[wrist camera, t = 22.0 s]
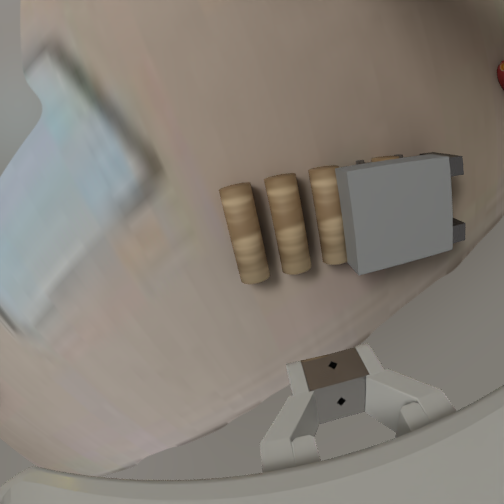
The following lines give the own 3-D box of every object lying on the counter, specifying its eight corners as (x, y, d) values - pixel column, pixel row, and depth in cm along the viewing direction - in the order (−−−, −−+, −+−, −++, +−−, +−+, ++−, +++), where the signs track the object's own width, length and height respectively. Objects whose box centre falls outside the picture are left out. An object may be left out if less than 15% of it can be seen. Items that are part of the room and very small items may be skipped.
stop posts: (419, 153, 38) (448, 157, 32) (433, 152, 38) (462, 156, 32) (425, 229, 42) (452, 243, 36) (438, 226, 42) (465, 239, 36)
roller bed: (219, 187, 39) (218, 192, 35) (399, 154, 38) (413, 156, 35) (240, 274, 43) (241, 286, 39) (406, 235, 42) (419, 243, 39)
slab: (334, 168, 35) (346, 171, 31) (431, 154, 35) (448, 156, 31) (347, 262, 39) (358, 275, 35) (436, 240, 39) (452, 249, 35)
